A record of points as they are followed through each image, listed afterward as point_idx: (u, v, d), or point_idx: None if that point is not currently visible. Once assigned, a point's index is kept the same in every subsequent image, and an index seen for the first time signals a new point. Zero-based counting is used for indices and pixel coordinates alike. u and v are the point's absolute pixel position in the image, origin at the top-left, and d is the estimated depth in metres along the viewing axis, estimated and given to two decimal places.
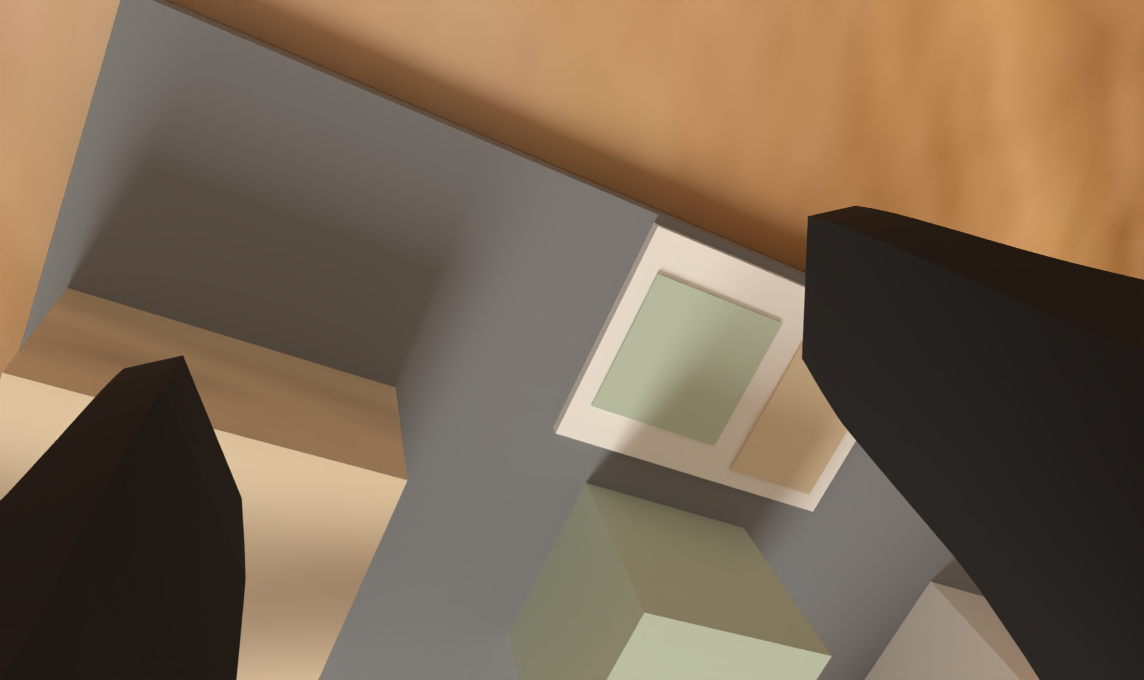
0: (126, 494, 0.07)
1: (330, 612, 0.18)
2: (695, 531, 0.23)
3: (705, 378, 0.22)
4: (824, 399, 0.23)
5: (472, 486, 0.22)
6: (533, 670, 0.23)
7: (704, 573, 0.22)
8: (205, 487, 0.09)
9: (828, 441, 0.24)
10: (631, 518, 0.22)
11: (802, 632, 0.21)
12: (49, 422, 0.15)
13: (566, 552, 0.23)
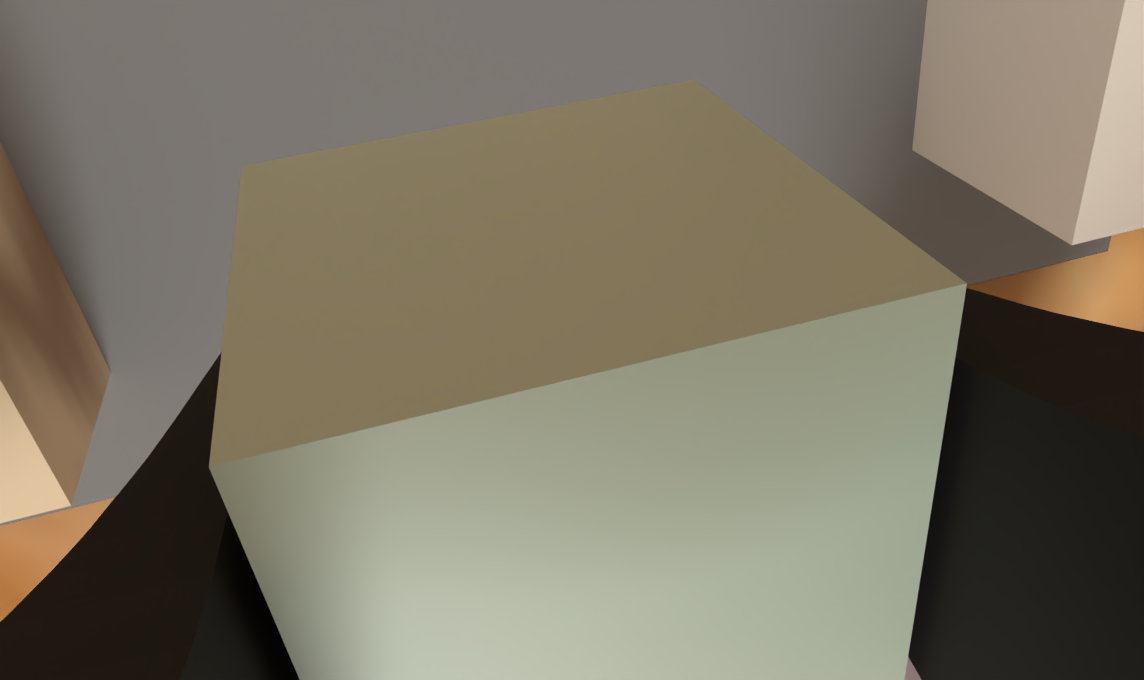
0: None
1: None
2: (540, 141, 0.09)
3: None
4: None
5: (163, 97, 0.16)
6: None
7: (531, 232, 0.07)
8: None
9: None
10: (341, 191, 0.09)
11: (855, 254, 0.07)
12: None
13: None
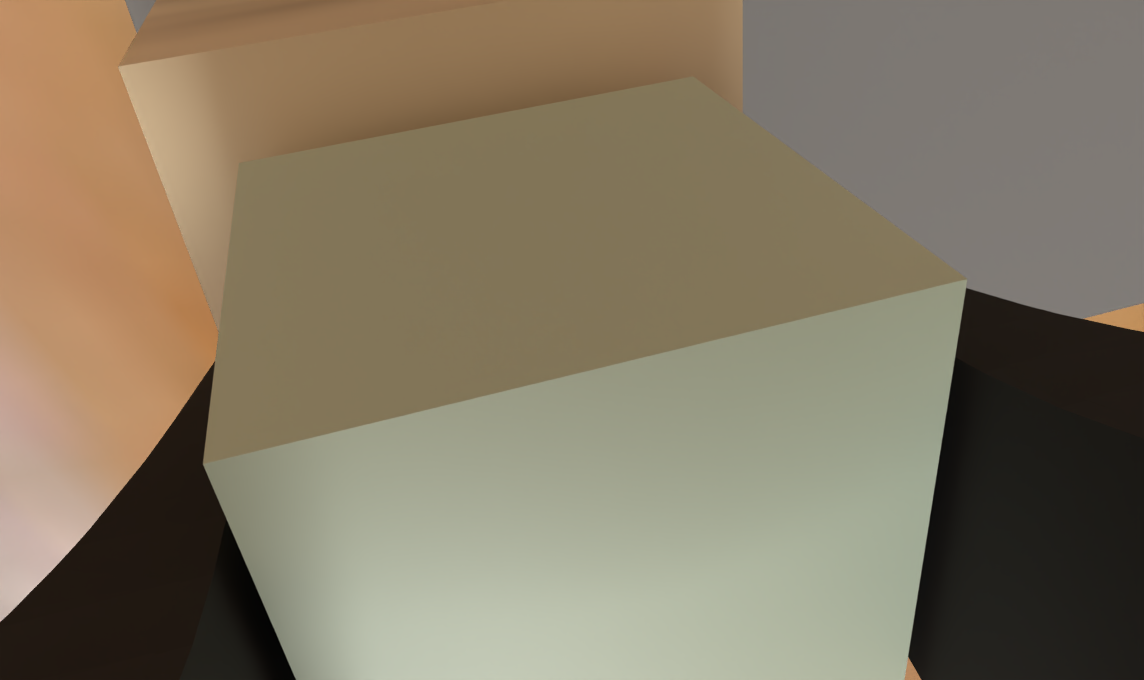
0: None
1: None
2: (538, 138, 0.09)
3: None
4: None
5: (796, 17, 0.15)
6: None
7: (529, 229, 0.07)
8: None
9: None
10: (337, 187, 0.09)
11: (855, 250, 0.07)
12: (224, 114, 0.10)
13: None
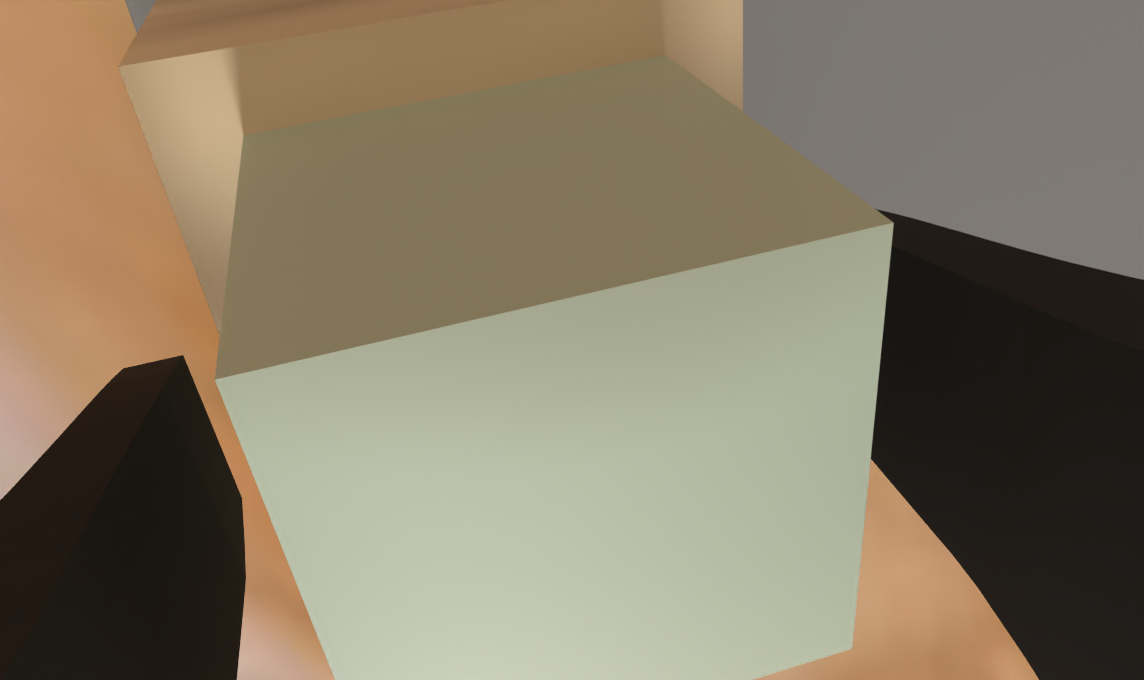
0: (126, 494, 0.07)
1: None
2: (520, 110, 0.10)
3: None
4: None
5: (796, 17, 0.15)
6: None
7: (507, 188, 0.08)
8: (205, 487, 0.09)
9: None
10: (334, 155, 0.09)
11: (797, 201, 0.07)
12: (224, 114, 0.10)
13: None
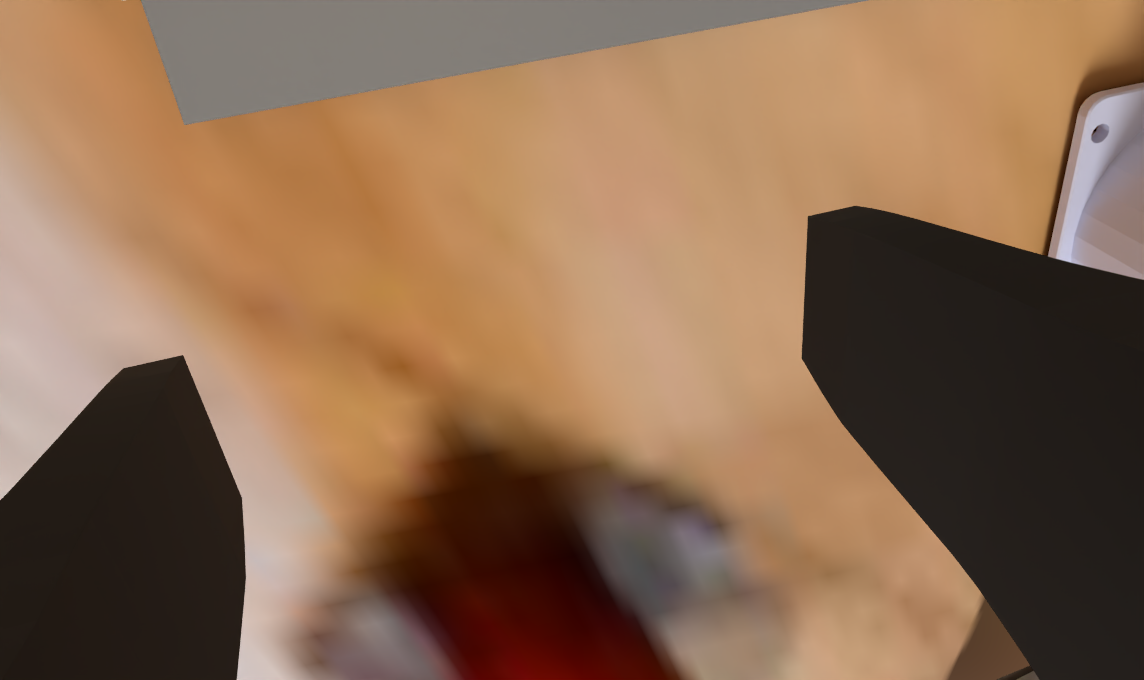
0: (126, 496, 0.07)
1: None
2: None
3: None
4: None
5: None
6: None
7: None
8: (205, 487, 0.09)
9: None
10: None
11: None
12: None
13: None
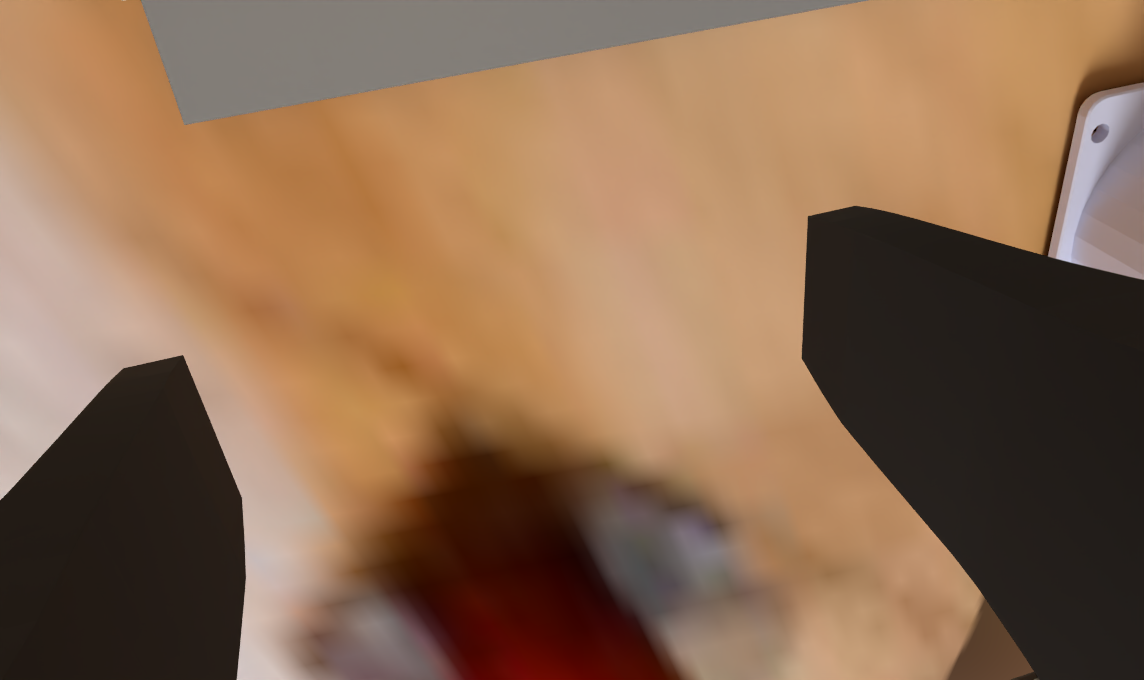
0: (126, 496, 0.07)
1: None
2: None
3: None
4: None
5: None
6: None
7: None
8: (205, 487, 0.09)
9: None
10: None
11: None
12: None
13: None
